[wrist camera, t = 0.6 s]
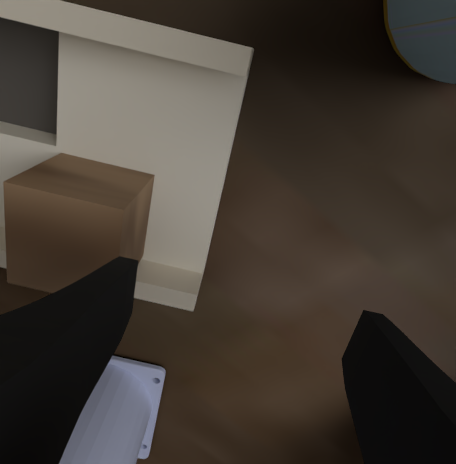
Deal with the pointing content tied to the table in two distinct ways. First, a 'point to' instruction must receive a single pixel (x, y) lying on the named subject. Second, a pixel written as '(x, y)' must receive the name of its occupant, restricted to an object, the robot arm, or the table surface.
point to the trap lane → (126, 120)
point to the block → (73, 220)
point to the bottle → (424, 35)
